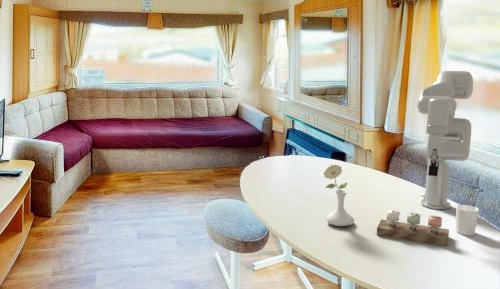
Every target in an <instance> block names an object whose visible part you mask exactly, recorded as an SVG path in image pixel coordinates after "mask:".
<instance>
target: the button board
mask: <svg viewBox="0 0 500 289" xmlns="http://www.w3.org/2000/svg"><path fill="white" fill-rule="evenodd" d="M449 233H450V229H449V228H443V227H442V228H441V227H439V228H436V233H432V227H431V226H429V225H421V224H415V230H412V229H411V224H410V223H408V222H403V221H402V222H401V221H395V223H394V227H392V226H391V221H390V220H387V219H382V218H381V219H380V221H379V223H378V226H376V236H378V237H386V238H392V239H399V240H404V241H409V242H410V241H411V242H416V243H423V244H428V245H434V244H435V246H440V245H442V247H446V246H447V247H449V236H450V234H449Z"/></svg>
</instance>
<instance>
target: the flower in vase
mask: <svg viewBox="0 0 500 289" xmlns="http://www.w3.org/2000/svg"><path fill="white" fill-rule="evenodd" d="M342 173H343V168H342V165H340V166H339V164H331V165H330V166H328V167H327V168H326V169H324V172H323V175H324V178H326V179H328V180H333V179H334V183H330V184H327V185H326V187H325V189H326V188H327V189H334V188H336V187H337V190H335V191H334V192H335V194H336V195H337V207H336V209H335V210H333V211H331V212H330V213H329V214H328V215H327V216H326V218H325V220H326V222H327V223H328V224H330V225H333V226H337V227H348V226H351V225H353V224H354V223H355V219H354V217H353V216H352V215H351V214H350V213H349V212H348V211H347V210H346V209H345V208H344V203H345V198H346V196H347V194H348V191H347V190H346V189H344V188H346V187H347V185H348V182H344V183H342V184H340V185H338V184H337V179H336V178H338V177H339V176H340V175H341V174H342Z"/></svg>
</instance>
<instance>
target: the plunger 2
mask: <svg viewBox="0 0 500 289" xmlns="http://www.w3.org/2000/svg"><path fill="white" fill-rule="evenodd" d="M406 223H409V224H411V229H412V230H415V224H416V225H421V224H420V223H421V214H420V213H417V212H407V216H406Z"/></svg>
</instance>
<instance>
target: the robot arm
mask: <svg viewBox="0 0 500 289" xmlns="http://www.w3.org/2000/svg"><path fill="white" fill-rule="evenodd" d="M473 90H474V79H473V75H472V74H471V72H470V71H467V70H445V71H441V72H440V73H439V74H438V75H437V76H436V80H435V81H434V82H433V83H432V85H431V86H428V87H426V88H424V89H422V90H421V93H420V94H419V97H418V99H417V100H418V101H417V111H418V112H419V113H420V114H422V115H427V116H426V117H427V118H426V119H427V120H426V131H425V133H426V134H428V137H427V138H428V139H427V145H426V160H427V168H426V169H427V171H426V182H425V191H423V192H421V193H420V196H421V197H422V199H421V201H420V204H421V205H422V206H423V207H425V208H428V209H434V210H448V209H450V208H451V203H450V202H449V201H448V194H449V186H450V185H449V184H450V174H451V173H450V172H451V170H450V169H451V168H450V166H449V164H448V163H447V162H446V161H448V160H449V161H458V162H465V161H467V160H468V159H469V156H470V152H471V151H470V150H471V140H472V123H471V121H470V120H469V119H467V118H462V117H460V118H459V117H455V116H456V115H455V114H456V110H457V101H456V100H468V99H470V98H471V96H472V95H473Z"/></svg>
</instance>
